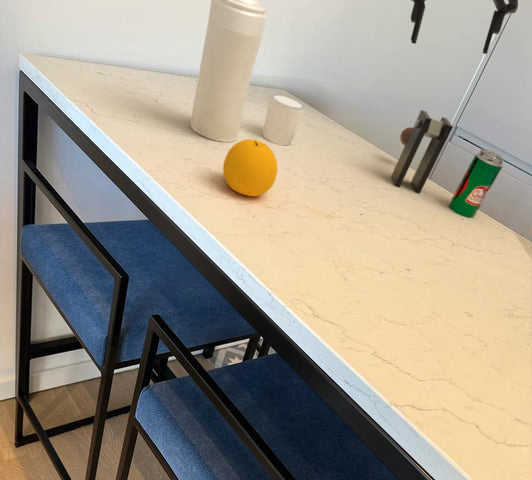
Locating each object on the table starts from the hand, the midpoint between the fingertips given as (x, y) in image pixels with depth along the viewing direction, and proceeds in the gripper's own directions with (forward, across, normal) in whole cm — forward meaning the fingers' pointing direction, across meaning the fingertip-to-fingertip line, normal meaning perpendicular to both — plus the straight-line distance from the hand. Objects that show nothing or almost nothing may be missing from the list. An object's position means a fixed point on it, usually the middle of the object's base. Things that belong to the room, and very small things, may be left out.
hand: (448, 46), depth 109 cm
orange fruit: (+33, +20, +41) cm, 56 cm away
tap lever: (+19, 0, +11) cm, 22 cm away
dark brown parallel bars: (+28, 0, +12) cm, 30 cm away
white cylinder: (+23, +25, +16) cm, 38 cm away
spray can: (+26, +33, +27) cm, 50 cm away
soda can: (+30, -11, +11) cm, 34 cm away
